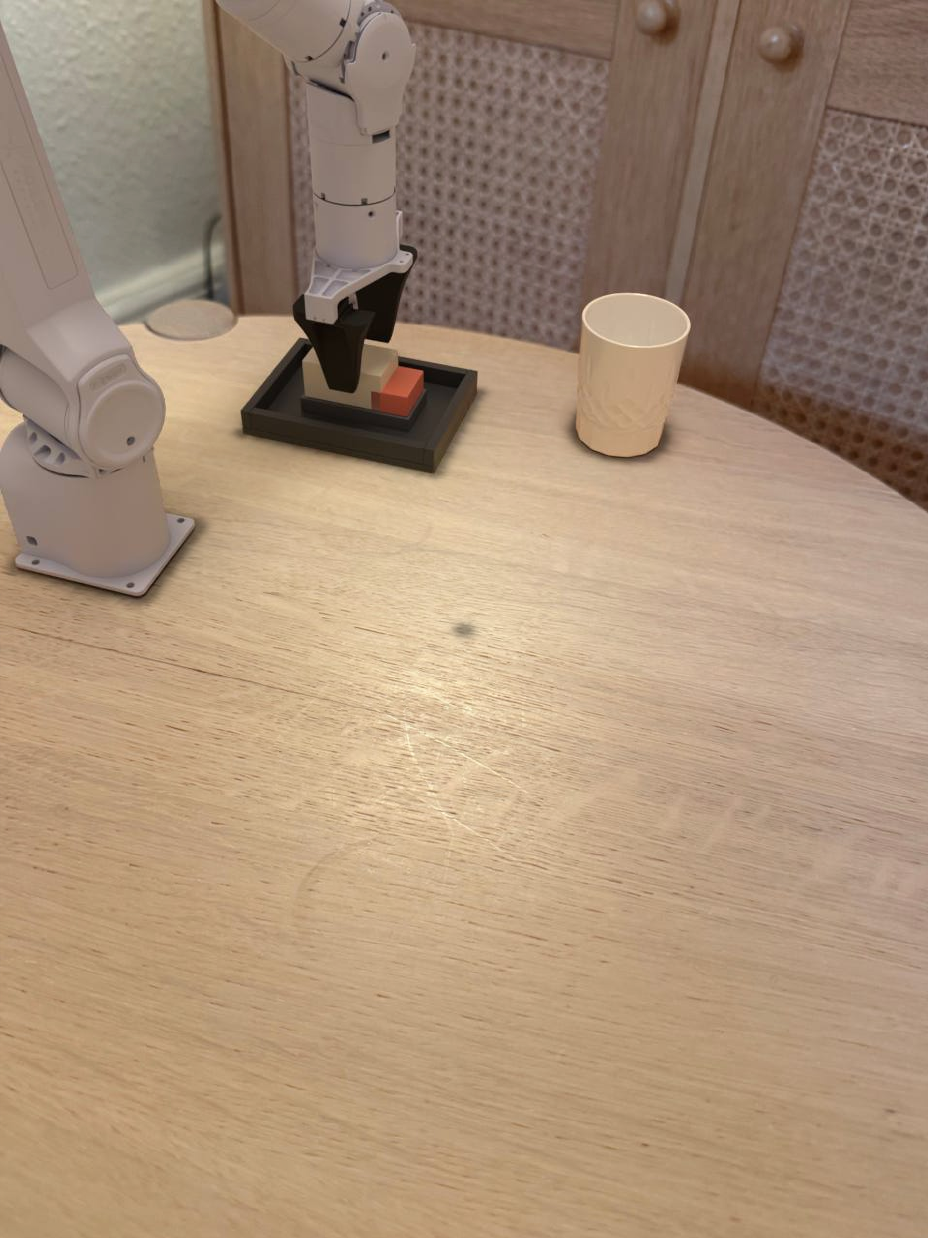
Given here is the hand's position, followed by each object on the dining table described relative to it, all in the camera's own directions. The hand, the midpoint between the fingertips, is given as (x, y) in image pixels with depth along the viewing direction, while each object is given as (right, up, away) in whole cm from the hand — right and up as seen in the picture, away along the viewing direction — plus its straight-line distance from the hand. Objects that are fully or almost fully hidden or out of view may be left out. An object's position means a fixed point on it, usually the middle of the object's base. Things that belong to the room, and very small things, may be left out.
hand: (360, 363), depth 83 cm
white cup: (+20, -5, +2) cm, 21 cm away
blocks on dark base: (0, -3, +3) cm, 4 cm away
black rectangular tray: (0, -3, +3) cm, 5 cm away
